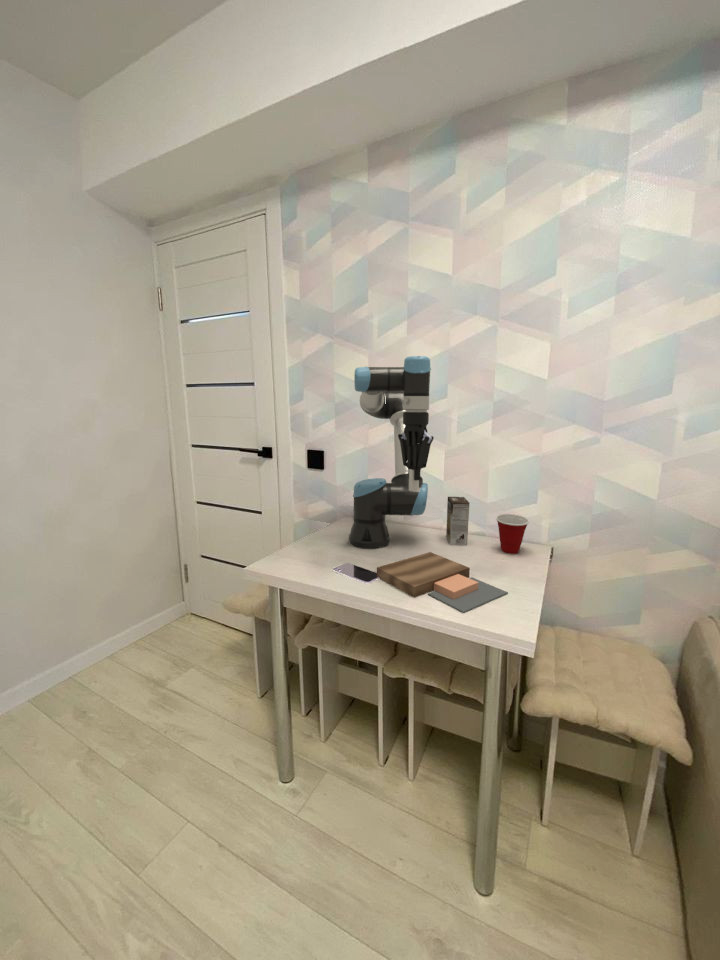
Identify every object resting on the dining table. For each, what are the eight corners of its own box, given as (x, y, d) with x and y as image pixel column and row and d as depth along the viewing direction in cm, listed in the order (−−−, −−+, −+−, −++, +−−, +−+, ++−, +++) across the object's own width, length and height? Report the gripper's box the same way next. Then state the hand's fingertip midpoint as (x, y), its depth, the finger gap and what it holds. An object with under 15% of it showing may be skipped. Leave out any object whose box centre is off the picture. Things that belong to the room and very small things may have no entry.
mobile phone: (367, 582, 114) (330, 568, 124) (367, 585, 114) (330, 571, 124) (384, 574, 120) (347, 561, 130) (384, 577, 120) (347, 564, 130)
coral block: (433, 589, 110) (433, 582, 110) (457, 580, 116) (458, 573, 116) (453, 599, 105) (454, 592, 104) (478, 589, 111) (478, 582, 110)
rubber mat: (427, 594, 108) (427, 593, 108) (471, 578, 118) (471, 577, 118) (463, 613, 98) (463, 611, 98) (507, 593, 109) (508, 592, 109)
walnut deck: (376, 577, 119) (376, 567, 119) (429, 560, 132) (430, 551, 131) (414, 597, 107) (414, 586, 106) (469, 577, 119) (469, 567, 119)
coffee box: (445, 537, 156) (447, 496, 153) (462, 537, 155) (464, 496, 153) (449, 545, 147) (451, 501, 144) (467, 545, 146) (470, 502, 144)
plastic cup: (497, 556, 136) (500, 521, 134) (490, 545, 146) (492, 513, 144) (531, 557, 135) (534, 522, 133) (521, 546, 146) (523, 514, 143)
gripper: (391, 411, 122) (390, 488, 126) (422, 411, 111) (419, 495, 116) (410, 411, 126) (408, 485, 130) (441, 411, 116) (438, 492, 120)
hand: (413, 490), depth 123 cm, fingers closed
